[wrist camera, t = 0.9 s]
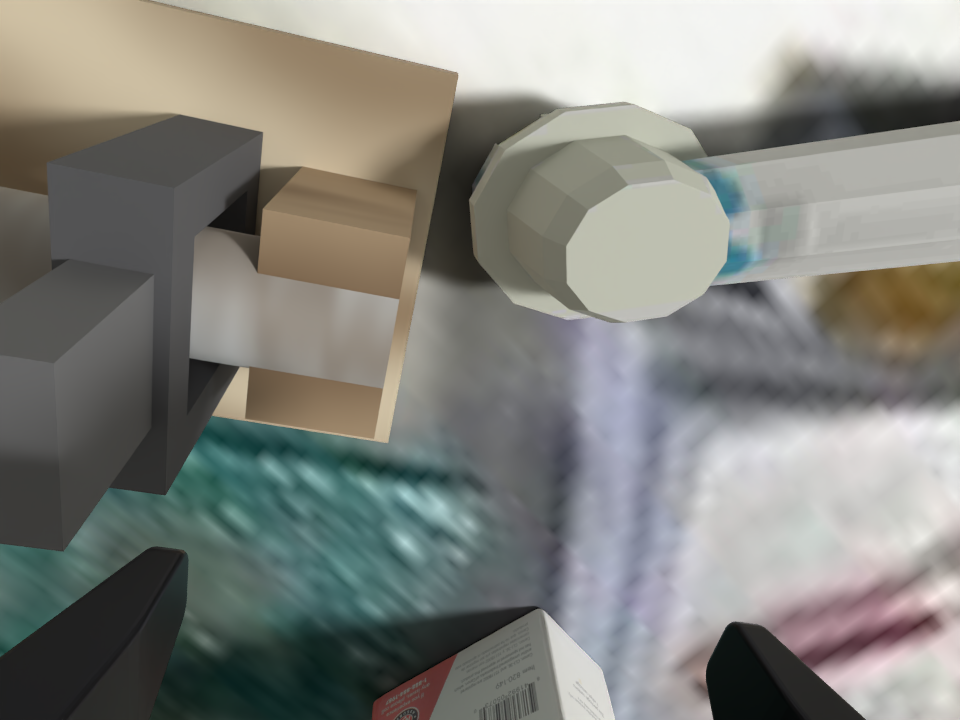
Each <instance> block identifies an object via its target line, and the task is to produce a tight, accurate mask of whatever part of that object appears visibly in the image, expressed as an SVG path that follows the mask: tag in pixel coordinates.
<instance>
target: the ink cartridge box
mask: <svg viewBox="0 0 960 720" xmlns="http://www.w3.org/2000/svg"><path fill="white" fill-rule="evenodd" d="M372 720H615V717H614V713H613V709H612V705H611V701H610V698H609V694H608V690H607V686H606V683H605V679H604V676H603V672H602V669H601V668H600V667H599V666H598V665H597V664H596V663H595V662H594V661H593V660H592V659H591V658H590V657H589V656H588V655H587V654H586V653H585V652H584V651H583V650H582V649H581V648H580V647H579V646H578V645H577V644H576V643H575V642H574V641H573V640H572V639H571V638H570V637H569V636H568V635H567V634H566V633H565V631H564V630H563V629H562V628H561V627H560V626H559V625H558V624H557V623H556V622H555V621H554V620H553V619H552V618H551V617H550V616H549V615H548V614H547V613H546V612H545V611H544V610H542V609H535V610H534V611H532V612H530V613H528V614H526V615H525V616H523V617H521V618H519V619H518V620H516V621H514V622H512V623H510V624H508V625H507V626H505V627H503V628H501V629H500V630H498V631H496V632H494V633H493V634H491V635H489V636H487V637H486V638H484V639H482V640H480V641H478V642H476V643H475V644H473V645H471V646H469V647H468V648H466V649H464V650H463V651H461V652H459V653H457V654H455V655H454V656H452V657H450V658H448V659H446V660H444V661H443V662H441V663H440V664H438V665H436V666H434V667H432V668H430V669H429V670H427V671H425V672H423V673H422V674H420V675H418V676H416V677H414V678H413V679H411V680H409V681H407V682H405V683H404V684H402V685H400V686H398V687H397V688H395V689H393V690H391V691H389V692H388V693H386V694H384V695H383V696H382V697H380V698H379V699H377V700H376V701H374V703H373V711H372Z"/></svg>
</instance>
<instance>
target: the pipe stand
mask: <svg viewBox="0 0 960 720" xmlns="http://www.w3.org/2000/svg"><path fill="white" fill-rule="evenodd" d="M457 80H458V73H457V72H452V71H448V70H444V69H440V68H435V67H431V66H427V65H423V64H418V63H414V62H410V61H406V60H401V59H397V58H393V57H389V56H384V55H380V54H376V53H372V52H367V51H363V50H359V49H355V48H350V47H346V46H342V45H338V44H333V43H329V42H325V41H320V40H316V39H312V38H308V37H303V36H299V35H295V34H291V33H286V32H282V31H278V30H274V29H269V28H265V27H261V26H257V25H252V24H248V23H244V22H240V21H235V20H231V19H227V18H223V17H218V16H214V15H210V14H206V13H201V12H197V11H193V10H188V9H184V8H180V7H176V6H171V5H167V4H163V3H159V2H154V1H150V0H0V304H1V303H2V302H4V301H5V300H7V299H8V298H10V297H11V296H13V295H15V294H16V293H18V292H19V291H21V290H22V289H24V288H25V287H27V286H29V285H30V284H32V283H33V282H35V281H36V280H38V279H39V278H41V277H43V276H44V275H46V274H47V273H49V272H50V271H52V263H51V242H50V222H49V202H48V182H47V162H50V161H52V160H55V159H58V158H61V157H63V156H66V155H69V154H72V153H74V152H77V151H80V150H83V149H86V148H88V147H91V146H94V145H97V144H99V143H102V142H105V141H108V140H111V139H113V138H116V137H119V136H122V135H124V134H127V133H130V132H133V131H135V130H138V129H141V128H144V127H147V126H149V125H152V124H155V123H158V122H160V121H163V120H166V119H169V118H172V117H174V116H177V115H180V114H181V115H185V116H190V117H195V118H200V119H204V120H209V121H214V122H218V123H223V124H228V125H232V126H237V127H242V128H246V129H251V130H256V131H260V132H263V142H262V154H261V166H260V178H259V191H258V203H257V215H256V228H255V235H249V234H244V233H239V232H234V231H229V230H224V229H218V228H213V227H208V226H206V227H205V228H204V229H203V230H202V231H201V232H199V233H198V234H197V235H196V236H195V239H194V262H193V285H192V309H191V332H190V355H189V358H191V359H197V360H203V361H209V362H215V363H221V364H227V365H233V366H239V367H240V368H239V369H238V371H237V373H236V375H235V376H234V378H233V380H232V381H231V383H230V385H229V387H228V388H227V390H226V392H225V393H224V395H223V397H222V399H221V400H220V402H219V404H218V406H217V407H216V409H215V411H214V412H213V414H212V416H218V417H224V418H231V419H237V420H243V421H250V422H256V423H263V424H269V425H276V426H282V427H288V428H295V429H301V430H308V431H314V432H320V433H327V434H333V435H340V436H346V437H353V438H359V439H365V440H372V441H378V442H385V443H388V440H389V434H390V429H391V424H392V419H393V414H394V408H395V403H396V398H397V393H398V388H399V382H400V377H401V372H402V367H403V361H404V356H405V351H406V346H407V341H408V335H409V330H410V325H411V320H412V315H413V309H414V304H415V299H416V294H417V289H418V283H419V278H420V273H421V268H422V262H423V257H424V252H425V247H426V242H427V236H428V231H429V226H430V221H431V216H432V210H433V205H434V200H435V195H436V190H437V184H438V179H439V174H440V169H441V163H442V158H443V153H444V148H445V143H446V137H447V132H448V127H449V122H450V117H451V111H452V106H453V101H454V96H455V91H456V85H457Z"/></svg>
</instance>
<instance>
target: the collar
mask: <svg viewBox="0 0 960 720" xmlns="http://www.w3.org/2000/svg"><path fill="white" fill-rule="evenodd" d="M262 142H263V132H260V131H256V130H251V129H246V128H242V127H237V126H232V125H228V124H223V123H218V122H214V121H209V120H204V119H200V118H195V117H190V116H185V115H181V114H180V115H177V116H174V117H172V118H169V119H166V120H163V121H160V122H158V123H155V124H152V125H149V126H147V127H144V128H141V129H138V130H135V131H133V132H130V133H127V134H124V135H122V136H119V137H116V138H113V139H111V140H108V141H105V142H102V143H99V144H97V145H94V146H91V147H88V148H86V149H83V150H80V151H77V152H74V153H72V154H69V155H66V156H63V157H61V158H58V159H55V160H52V161H50V162H47V182H48V202H49V222H50V242H51V263H52V271H50V272H49V273H47V274H46V275H44V276H43V277H41V278H39V279H38V280H36V281H35V282H33V283H32V284H30V285H29V286H27V287H25V288H24V289H22V290H21V291H19V292H18V293H16V294H15V295H13V296H11V297H10V298H8V299H7V300H5V301H4V302H2V303H1V304H0V544H8V545H16V546H24V547H32V548H40V549H48V550H56V551H64V550H65V548H66V547H67V546H68V544H69V543H70V541H71V540H72V539H73V537H74V536H75V534H76V533H77V532H78V530H79V529H80V527H81V526H82V525H83V523H84V522H85V520H86V519H87V518H88V516H89V515H90V513H91V512H92V510H93V509H94V508H95V506H96V505H97V503H98V502H99V501H100V499H101V498H102V496H103V495H104V494H105V492H106V491H107V489H108V488H117V489H124V490H131V491H138V492H145V493H153V494H160V495H166V494H167V492H168V490H169V488H170V487H171V485H172V483H173V481H174V480H175V478H176V476H177V475H178V473H179V471H180V469H181V468H182V466H183V464H184V462H185V461H186V459H187V457H188V456H189V454H190V452H191V450H192V449H193V447H194V445H195V443H196V442H197V440H198V438H199V437H200V435H201V433H202V431H203V430H204V428H205V426H206V425H207V423H208V421H209V419H210V418H211V416H212V414H213V412H214V411H215V409H216V407H217V406H218V404H219V402H220V400H221V399H222V397H223V395H224V393H225V392H226V390H227V388H228V387H229V385H230V383H231V381H232V380H233V378H234V376H235V375H236V373H237V371H238V369H239V368H240V367H239V366H233V365H227V364H221V363H215V362H209V361H203V360H197V359H191V358H189V355H190V332H191V309H192V285H193V262H194V239H195V236H196V235H197V234H198V233H199V232H201V231H202V230H203V229H204V228H205V227H206V226H208V227H213V228H218V229H224V230H229V231H234V232H239V233H244V234H249V235H255V228H256V215H257V203H258V191H259V178H260V166H261V154H262Z"/></svg>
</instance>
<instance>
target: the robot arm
mask: <svg viewBox="0 0 960 720" xmlns="http://www.w3.org/2000/svg"><path fill="white" fill-rule="evenodd" d="M187 581H188V555H187V553H186V552H185V551H184V550H180V549H172V548H164V547H151V548H149V549H147V550H145V551H144V552H143V553H141V554H140V555H139V556H137V557H136V558H135V559H133V560H132V561H130V562H129V563H128V564H126V565H125V566H124V567H122V568H121V569H120V570H118V571H117V572H115V573H114V574H113V575H111V576H110V577H109V578H107V579H106V580H105V581H103V582H102V583H100V584H99V585H98V586H96V587H95V588H94V589H92V590H91V591H90V592H88V593H87V594H86V595H84V596H83V597H81V598H80V599H79V600H77V601H76V602H75V603H73V604H72V605H71V606H69V607H68V608H66V609H65V610H64V611H62V612H61V613H60V614H58V615H57V616H56V617H54V618H53V619H52V620H50V621H49V622H47V623H46V624H45V625H43V626H42V627H41V628H39V629H38V630H37V631H35V632H34V633H32V634H31V635H30V636H28V637H27V638H26V639H24V640H23V641H22V642H20V643H19V644H17V645H16V646H15V647H13V648H12V649H11V650H9V651H8V652H7V653H5V654H4V655H3V656H1V657H0V720H149V718H150V716H151V713H152V710H153V707H154V704H155V701H156V698H157V695H158V692H159V689H160V686H161V683H162V680H163V677H164V674H165V671H166V668H167V665H168V662H169V659H170V656H171V653H172V650H173V647H174V644H175V641H176V638H177V635H178V632H179V629H180V626H181V623H182V620H183V617H184V613H185V608H186V601H187ZM706 683H707V689H708V694H709V699H710V704H711V710H712V715H713V720H866V719H865V718H864V717H862V716H861V715H860V714H859V713H858V712H857V711H856V710H855V709H854V708H853V707H851V706H850V705H849V704H848V703H847V702H846V701H845V700H844V699H843V698H842V697H840V696H839V695H838V694H837V693H836V692H835V691H834V690H833V689H832V688H831V687H830V686H828V685H827V684H826V683H825V682H824V681H823V680H822V679H821V678H820V677H819V676H817V675H816V674H815V673H814V672H813V671H812V670H811V669H810V668H809V667H808V666H807V665H805V664H804V663H803V662H802V661H801V660H800V659H799V658H798V657H797V656H796V655H794V654H793V653H792V652H791V651H790V650H789V649H788V648H787V647H786V646H785V645H783V644H782V643H781V642H780V641H779V640H778V639H777V638H776V637H775V636H774V635H773V634H771V633H770V632H769V631H768V630H767V629H766V628H764V627H763V626H761V625H758V624H751V623H744V622H732V623H730V624H729V625H727V627H726V628H725V630H724V632H723V634H722V636H721V638H720V640H719V642H718V644H717V646H716V648H715V650H714V652H713V654H712V655H711V657H710V659H709V662H708V664H707V669H706Z"/></svg>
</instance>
